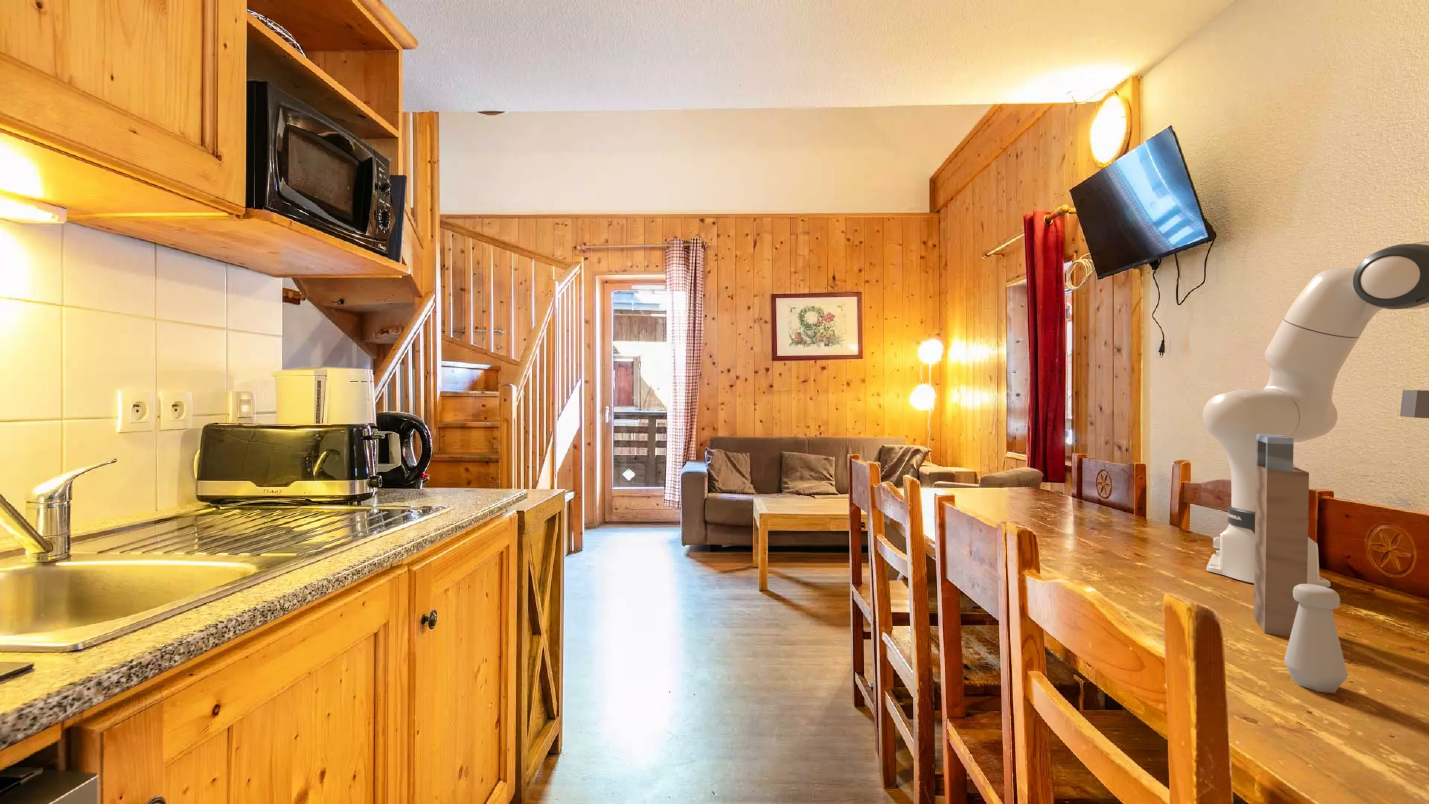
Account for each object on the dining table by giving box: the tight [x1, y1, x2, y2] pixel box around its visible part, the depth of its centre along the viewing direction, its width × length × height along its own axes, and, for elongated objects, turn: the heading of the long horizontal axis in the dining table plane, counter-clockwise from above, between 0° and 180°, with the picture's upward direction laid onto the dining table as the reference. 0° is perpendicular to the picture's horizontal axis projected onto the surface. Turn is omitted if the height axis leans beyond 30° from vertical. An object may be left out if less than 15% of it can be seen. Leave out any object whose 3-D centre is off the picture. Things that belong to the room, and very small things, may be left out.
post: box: [1253, 434, 1310, 638], centre depth 96 cm, size 8×5×31 cm, turn 147°
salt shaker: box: [1283, 584, 1348, 694], centre depth 77 cm, size 6×6×13 cm
